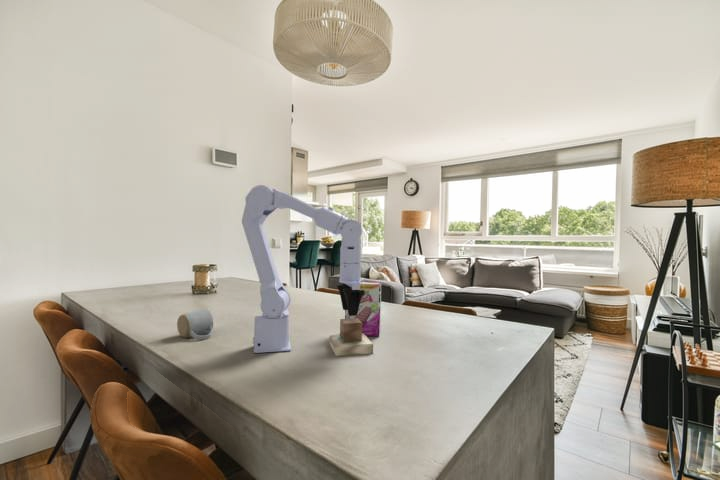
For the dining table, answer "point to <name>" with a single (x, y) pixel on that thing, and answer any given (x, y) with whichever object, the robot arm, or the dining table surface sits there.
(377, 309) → the candy bar box
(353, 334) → the walnut cube
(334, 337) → the base
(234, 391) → the dining table surface
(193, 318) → the ceramic mug
